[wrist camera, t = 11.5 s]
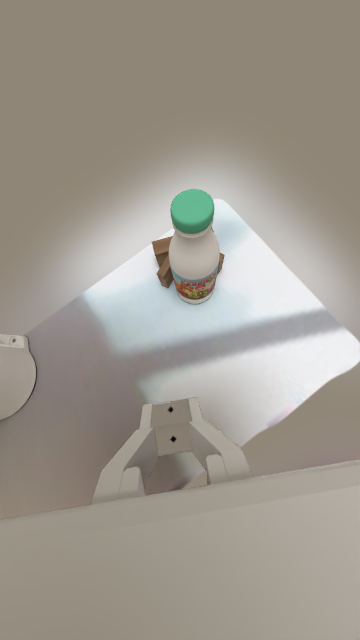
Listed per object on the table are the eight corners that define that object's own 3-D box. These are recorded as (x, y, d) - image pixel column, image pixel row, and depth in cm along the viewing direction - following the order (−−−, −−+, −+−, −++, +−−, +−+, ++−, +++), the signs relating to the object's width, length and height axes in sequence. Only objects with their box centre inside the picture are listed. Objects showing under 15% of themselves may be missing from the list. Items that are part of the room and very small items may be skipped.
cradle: (222, 273, 38) (226, 259, 33) (162, 289, 39) (157, 278, 34) (211, 241, 40) (213, 224, 35) (155, 257, 41) (149, 242, 36)
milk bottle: (170, 281, 39) (142, 197, 20) (201, 264, 39) (205, 164, 20) (188, 311, 37) (176, 249, 18) (221, 293, 37) (245, 212, 18)
